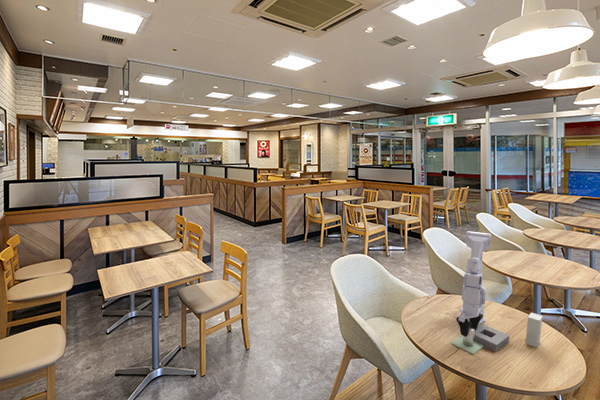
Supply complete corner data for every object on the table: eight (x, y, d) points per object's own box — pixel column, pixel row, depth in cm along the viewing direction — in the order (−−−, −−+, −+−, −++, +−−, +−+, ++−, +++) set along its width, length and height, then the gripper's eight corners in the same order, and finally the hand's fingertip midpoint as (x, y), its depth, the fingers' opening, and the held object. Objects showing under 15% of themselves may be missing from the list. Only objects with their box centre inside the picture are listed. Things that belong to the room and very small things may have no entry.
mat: (462, 336, 137) (462, 335, 137) (483, 346, 130) (484, 345, 130) (451, 343, 132) (451, 342, 132) (473, 354, 125) (473, 353, 125)
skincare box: (527, 337, 137) (530, 312, 135) (539, 342, 134) (543, 315, 132) (524, 343, 133) (527, 317, 131) (537, 348, 130) (540, 320, 128)
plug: (467, 340, 134) (468, 325, 133) (475, 345, 130) (476, 329, 129) (460, 342, 132) (461, 326, 131) (468, 347, 128) (469, 331, 128)
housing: (479, 329, 143) (480, 323, 143) (508, 341, 134) (509, 335, 133) (466, 337, 137) (466, 331, 136) (496, 351, 127) (496, 344, 126)
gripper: (470, 293, 136) (467, 323, 138) (452, 302, 128) (450, 333, 130) (487, 299, 130) (484, 330, 132) (469, 309, 122) (467, 341, 124)
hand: (468, 332), depth 130 cm, fingers open, 7 cm apart
